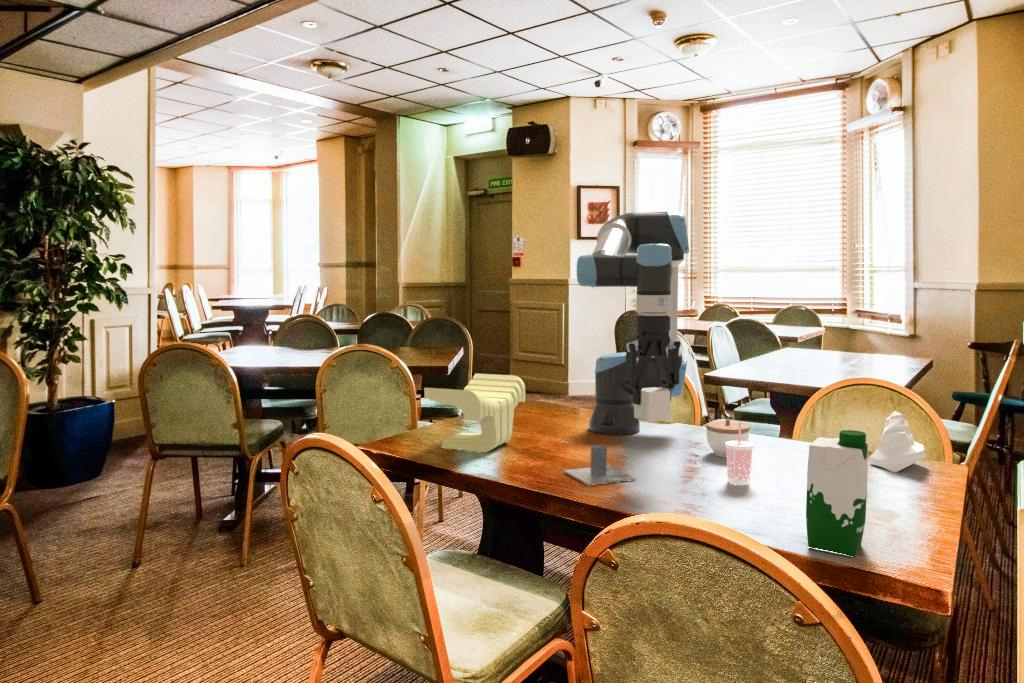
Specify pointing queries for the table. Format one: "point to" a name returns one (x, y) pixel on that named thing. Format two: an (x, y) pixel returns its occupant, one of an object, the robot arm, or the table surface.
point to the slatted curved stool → (483, 409)
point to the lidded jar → (724, 435)
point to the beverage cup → (739, 460)
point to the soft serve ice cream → (897, 445)
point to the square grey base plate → (599, 469)
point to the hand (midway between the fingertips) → (651, 417)
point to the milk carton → (837, 492)
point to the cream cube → (656, 404)
